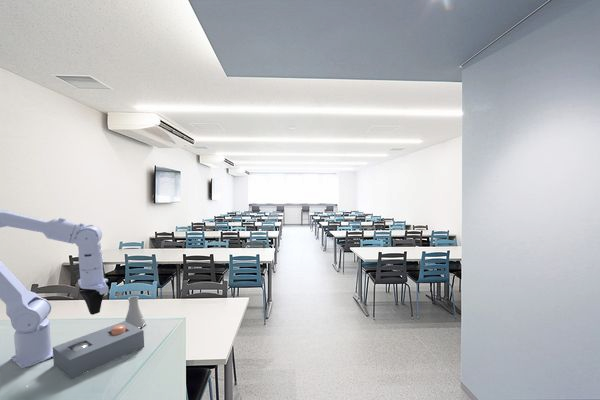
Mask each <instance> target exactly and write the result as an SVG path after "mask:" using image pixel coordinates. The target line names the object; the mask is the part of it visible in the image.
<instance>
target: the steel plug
mask: <svg viewBox="0 0 600 400" xmlns="http://www.w3.org/2000/svg"><path fill="white" fill-rule="evenodd" d="M86 347H89V346H88V344H87V343H81V344H78V345H76V346H74V347H73V348H72V350H73V351H74V352H76V351H78V350H81V349H83V348H86Z"/></svg>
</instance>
